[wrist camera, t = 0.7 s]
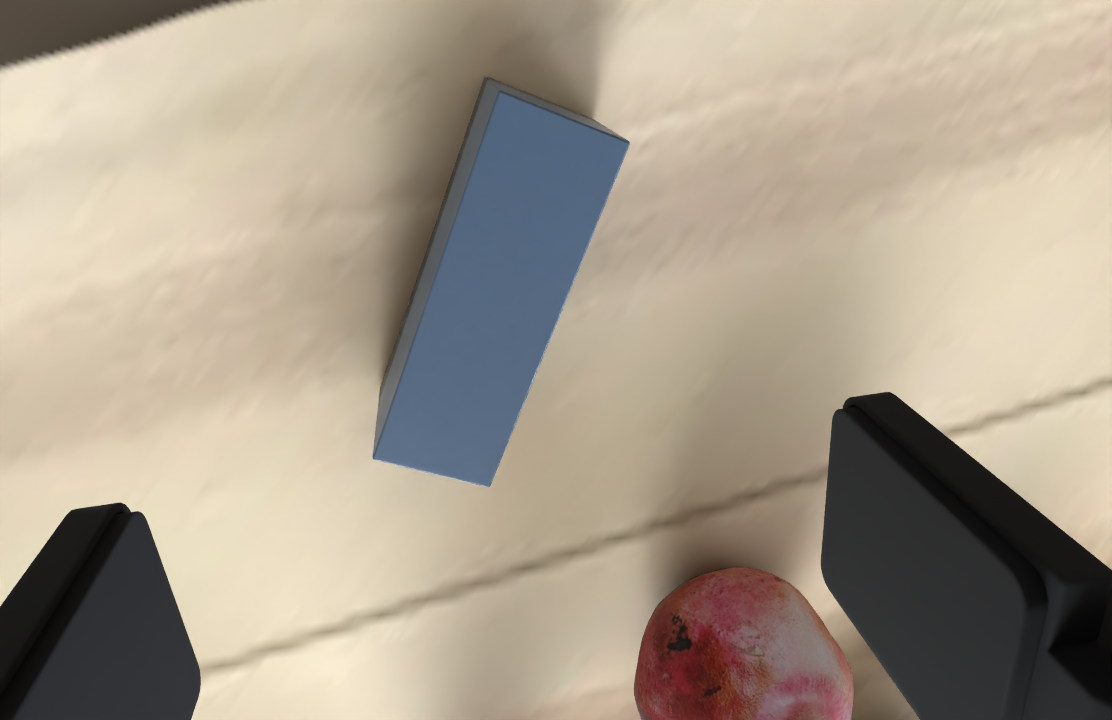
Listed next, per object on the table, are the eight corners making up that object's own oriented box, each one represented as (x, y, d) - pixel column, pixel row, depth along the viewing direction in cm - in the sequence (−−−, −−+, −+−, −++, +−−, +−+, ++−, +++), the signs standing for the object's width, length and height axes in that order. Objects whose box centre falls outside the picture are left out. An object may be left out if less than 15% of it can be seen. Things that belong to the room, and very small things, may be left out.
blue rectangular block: (479, 416, 31) (490, 488, 26) (379, 389, 30) (371, 459, 25) (594, 119, 27) (631, 142, 22) (484, 75, 26) (498, 89, 21)
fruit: (648, 716, 39) (715, 927, 30) (589, 579, 35) (647, 777, 26) (818, 650, 39) (937, 841, 30) (779, 506, 35) (904, 678, 26)
